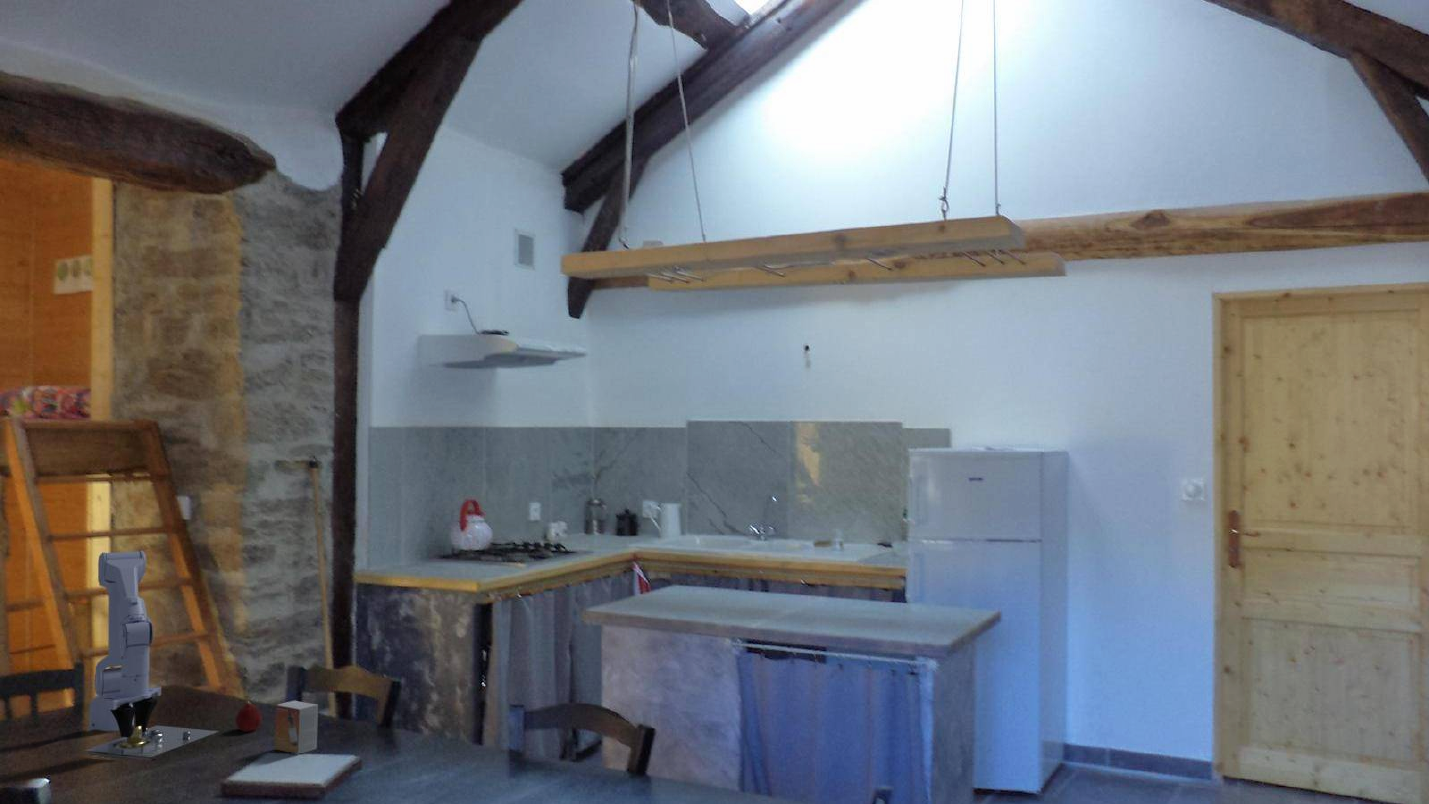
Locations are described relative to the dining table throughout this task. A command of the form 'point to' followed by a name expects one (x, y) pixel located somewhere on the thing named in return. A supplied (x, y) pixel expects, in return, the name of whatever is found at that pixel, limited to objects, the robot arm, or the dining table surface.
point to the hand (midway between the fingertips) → (133, 734)
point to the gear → (134, 738)
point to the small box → (296, 727)
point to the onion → (248, 718)
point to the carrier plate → (152, 742)
